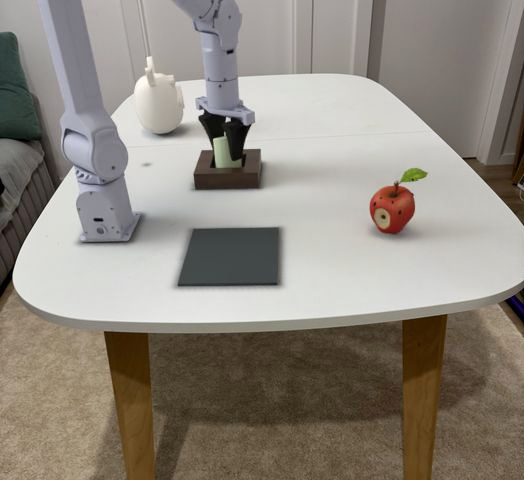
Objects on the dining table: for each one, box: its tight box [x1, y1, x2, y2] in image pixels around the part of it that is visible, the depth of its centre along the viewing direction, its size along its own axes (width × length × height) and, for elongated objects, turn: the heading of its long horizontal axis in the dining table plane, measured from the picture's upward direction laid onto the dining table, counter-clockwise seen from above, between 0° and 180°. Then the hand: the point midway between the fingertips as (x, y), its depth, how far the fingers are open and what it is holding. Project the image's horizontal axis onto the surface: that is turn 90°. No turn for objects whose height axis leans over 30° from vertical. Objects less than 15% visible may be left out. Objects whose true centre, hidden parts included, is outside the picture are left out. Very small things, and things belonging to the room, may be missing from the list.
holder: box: [192, 148, 262, 190], centre depth 99 cm, size 12×12×3 cm
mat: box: [177, 226, 280, 287], centre depth 77 cm, size 16×14×1 cm
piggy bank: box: [133, 55, 185, 135], centre depth 116 cm, size 12×12×15 cm
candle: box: [213, 134, 242, 168], centre depth 97 cm, size 5×5×8 cm
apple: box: [368, 167, 429, 236], centre depth 78 cm, size 8×7×10 cm
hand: (228, 156), depth 97 cm, fingers closed on candle, 5 cm apart
